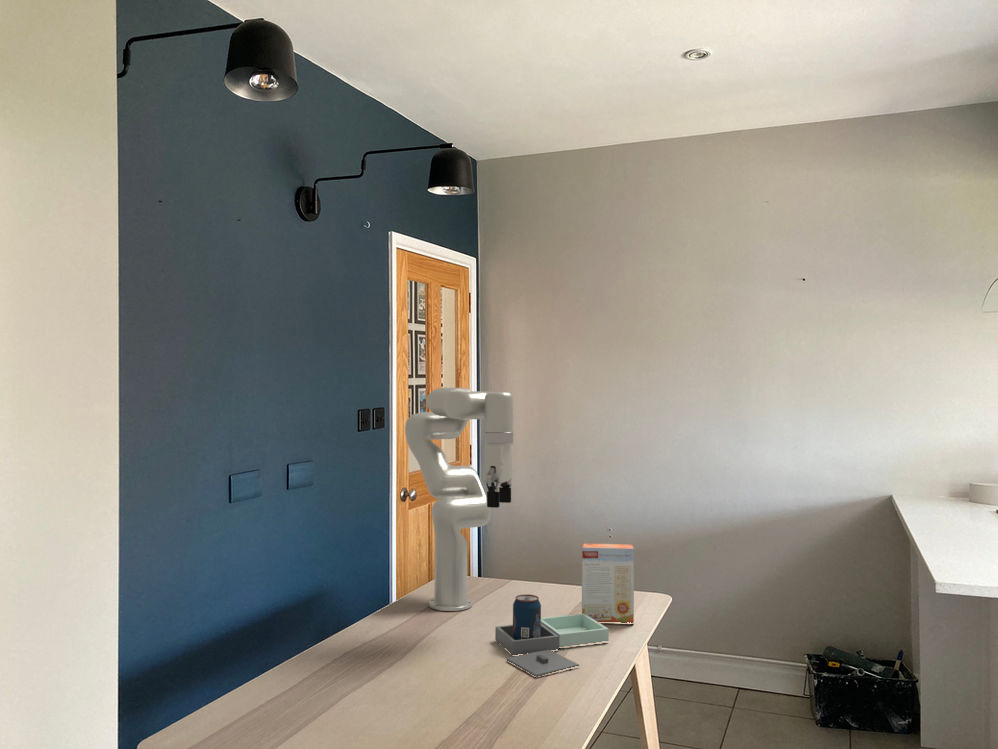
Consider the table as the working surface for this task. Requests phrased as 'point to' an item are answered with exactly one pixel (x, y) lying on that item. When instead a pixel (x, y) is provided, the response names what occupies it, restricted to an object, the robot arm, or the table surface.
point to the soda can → (526, 617)
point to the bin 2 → (576, 629)
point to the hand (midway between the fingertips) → (499, 504)
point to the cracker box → (608, 582)
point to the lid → (542, 662)
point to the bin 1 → (526, 640)
